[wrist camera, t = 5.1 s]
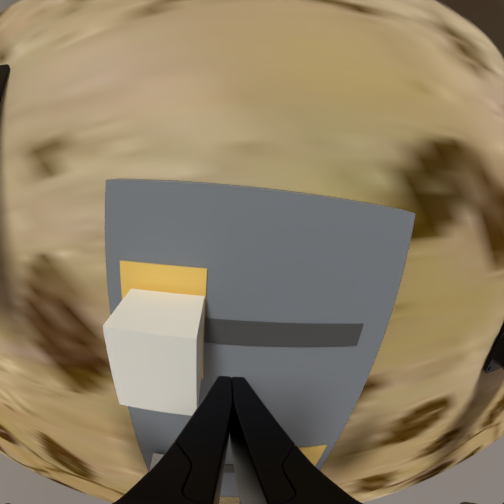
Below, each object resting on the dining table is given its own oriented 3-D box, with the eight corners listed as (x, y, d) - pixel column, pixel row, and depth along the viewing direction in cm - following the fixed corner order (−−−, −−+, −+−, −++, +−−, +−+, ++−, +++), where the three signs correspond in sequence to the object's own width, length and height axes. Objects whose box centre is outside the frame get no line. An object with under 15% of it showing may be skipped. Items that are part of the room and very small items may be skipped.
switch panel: (398, 208, 12) (416, 213, 11) (302, 480, 19) (305, 493, 17) (119, 178, 11) (104, 180, 9) (157, 476, 17) (155, 490, 16)
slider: (204, 296, 11) (196, 338, 8) (202, 367, 12) (196, 416, 9) (131, 288, 10) (102, 325, 8) (138, 359, 11) (119, 404, 8)
